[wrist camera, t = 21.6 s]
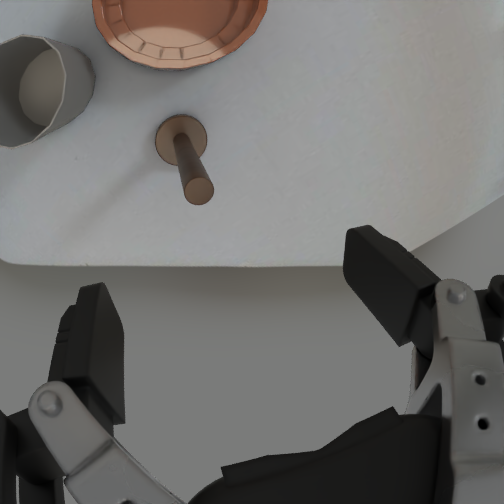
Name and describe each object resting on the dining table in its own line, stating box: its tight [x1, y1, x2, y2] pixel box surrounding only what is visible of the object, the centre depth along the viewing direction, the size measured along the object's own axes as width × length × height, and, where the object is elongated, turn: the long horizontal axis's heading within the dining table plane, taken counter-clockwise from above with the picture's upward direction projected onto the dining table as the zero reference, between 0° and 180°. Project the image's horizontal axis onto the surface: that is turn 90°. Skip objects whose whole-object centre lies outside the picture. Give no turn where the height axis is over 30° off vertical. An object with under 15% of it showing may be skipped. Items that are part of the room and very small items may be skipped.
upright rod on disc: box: [155, 114, 214, 205], centre depth 23 cm, size 5×5×16 cm
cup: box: [0, 34, 95, 149], centre depth 19 cm, size 8×8×10 cm
